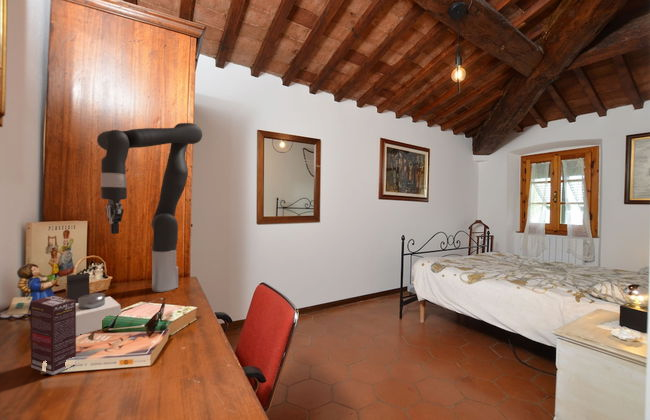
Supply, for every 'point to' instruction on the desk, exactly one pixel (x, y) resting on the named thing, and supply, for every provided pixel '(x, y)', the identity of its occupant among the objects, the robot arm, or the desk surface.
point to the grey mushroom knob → (91, 301)
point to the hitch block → (95, 316)
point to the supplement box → (52, 333)
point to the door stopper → (77, 286)
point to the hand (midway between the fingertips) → (114, 233)
